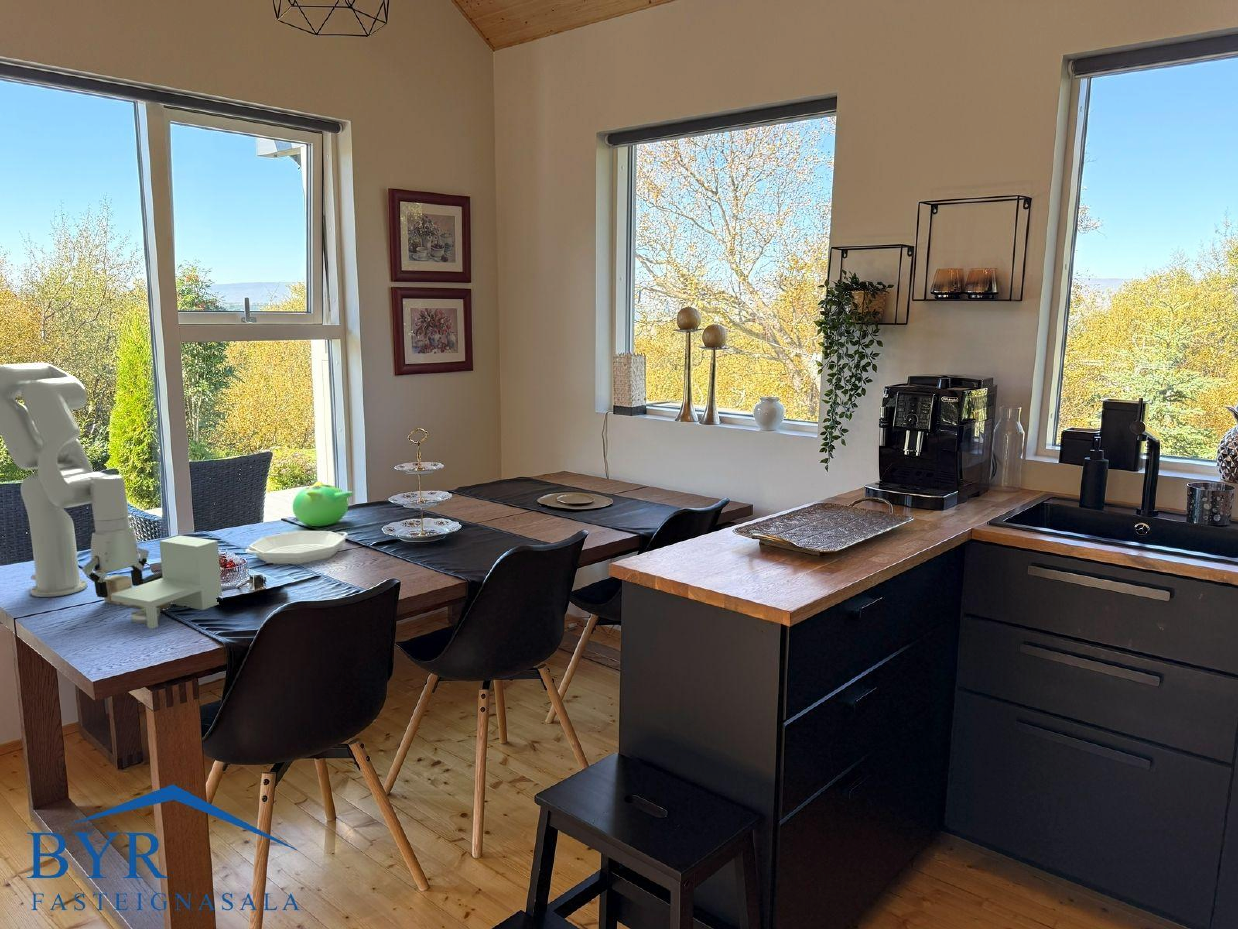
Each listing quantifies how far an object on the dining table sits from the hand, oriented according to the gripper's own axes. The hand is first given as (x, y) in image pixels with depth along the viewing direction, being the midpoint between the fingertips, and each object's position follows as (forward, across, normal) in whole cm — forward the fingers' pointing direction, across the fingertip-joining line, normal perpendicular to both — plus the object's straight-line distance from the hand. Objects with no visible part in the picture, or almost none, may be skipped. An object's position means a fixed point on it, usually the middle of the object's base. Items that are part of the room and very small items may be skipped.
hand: (120, 591), depth 221 cm
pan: (+3, -52, +9) cm, 52 cm away
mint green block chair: (+3, -23, -5) cm, 24 cm away
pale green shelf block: (+3, 0, +18) cm, 18 cm away
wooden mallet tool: (+3, 0, +6) cm, 7 cm away
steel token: (+3, +6, +17) cm, 19 cm away
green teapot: (+3, -82, -10) cm, 83 cm away
